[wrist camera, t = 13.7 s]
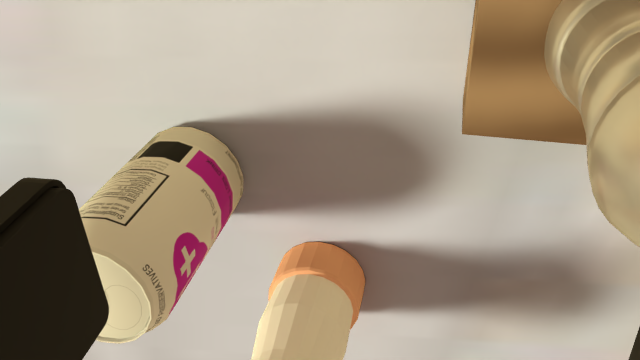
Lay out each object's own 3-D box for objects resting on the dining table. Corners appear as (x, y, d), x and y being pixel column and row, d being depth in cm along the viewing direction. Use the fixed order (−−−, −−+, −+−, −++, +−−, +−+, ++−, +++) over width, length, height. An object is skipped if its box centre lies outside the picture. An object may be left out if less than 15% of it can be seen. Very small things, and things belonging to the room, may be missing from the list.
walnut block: (491, -122, 32) (494, -115, 28) (758, -119, 30) (806, -111, 25) (462, 101, 39) (462, 134, 34) (678, 117, 36) (706, 155, 32)
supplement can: (261, 154, 44) (178, 283, 31) (225, 230, 48) (140, 370, 36) (164, 103, 44) (40, 214, 31) (136, 185, 48) (18, 310, 35)
